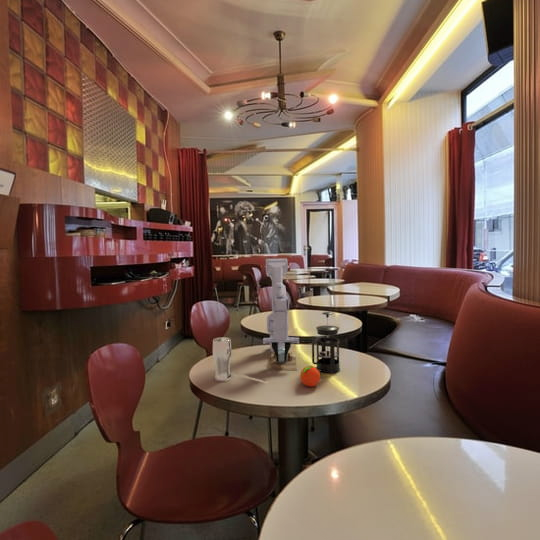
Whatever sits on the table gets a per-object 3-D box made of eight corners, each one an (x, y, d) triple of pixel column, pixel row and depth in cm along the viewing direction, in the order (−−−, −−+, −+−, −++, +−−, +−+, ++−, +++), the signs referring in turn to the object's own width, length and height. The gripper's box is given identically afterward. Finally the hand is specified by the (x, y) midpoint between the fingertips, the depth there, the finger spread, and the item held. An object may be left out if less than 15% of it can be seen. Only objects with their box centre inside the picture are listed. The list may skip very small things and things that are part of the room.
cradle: (268, 358, 160) (268, 352, 160) (295, 358, 159) (295, 352, 159) (266, 372, 142) (266, 365, 142) (296, 372, 141) (296, 365, 141)
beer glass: (231, 381, 133) (229, 341, 132) (212, 382, 133) (210, 341, 132) (233, 375, 140) (232, 336, 139) (215, 375, 140) (214, 337, 139)
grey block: (275, 367, 146) (274, 353, 146) (275, 359, 156) (275, 347, 156) (288, 367, 146) (287, 353, 146) (287, 359, 156) (287, 346, 155)
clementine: (310, 392, 122) (309, 371, 122) (294, 387, 127) (294, 367, 126) (324, 385, 128) (323, 365, 127) (308, 380, 133) (308, 361, 132)
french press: (335, 364, 150) (335, 309, 148) (345, 372, 141) (345, 313, 139) (308, 367, 147) (307, 311, 146) (317, 375, 138) (316, 315, 137)
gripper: (262, 330, 142) (263, 364, 143) (299, 329, 142) (299, 363, 143) (263, 326, 149) (264, 358, 150) (298, 325, 149) (299, 358, 150)
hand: (281, 360), depth 147 cm, fingers closed on grey block, 2 cm apart
